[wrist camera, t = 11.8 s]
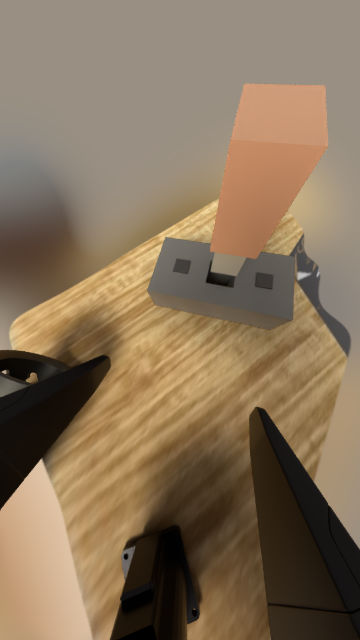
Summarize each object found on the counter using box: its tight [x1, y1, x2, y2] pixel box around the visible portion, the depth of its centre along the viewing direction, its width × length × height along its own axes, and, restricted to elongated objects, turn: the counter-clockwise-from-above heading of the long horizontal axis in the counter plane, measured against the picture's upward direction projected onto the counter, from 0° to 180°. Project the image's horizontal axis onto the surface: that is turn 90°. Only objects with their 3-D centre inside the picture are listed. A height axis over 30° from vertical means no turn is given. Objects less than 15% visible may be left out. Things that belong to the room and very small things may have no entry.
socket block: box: [147, 237, 295, 330], centre depth 22 cm, size 9×18×5 cm, turn 76°
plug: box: [210, 84, 328, 276], centre depth 12 cm, size 5×4×11 cm
